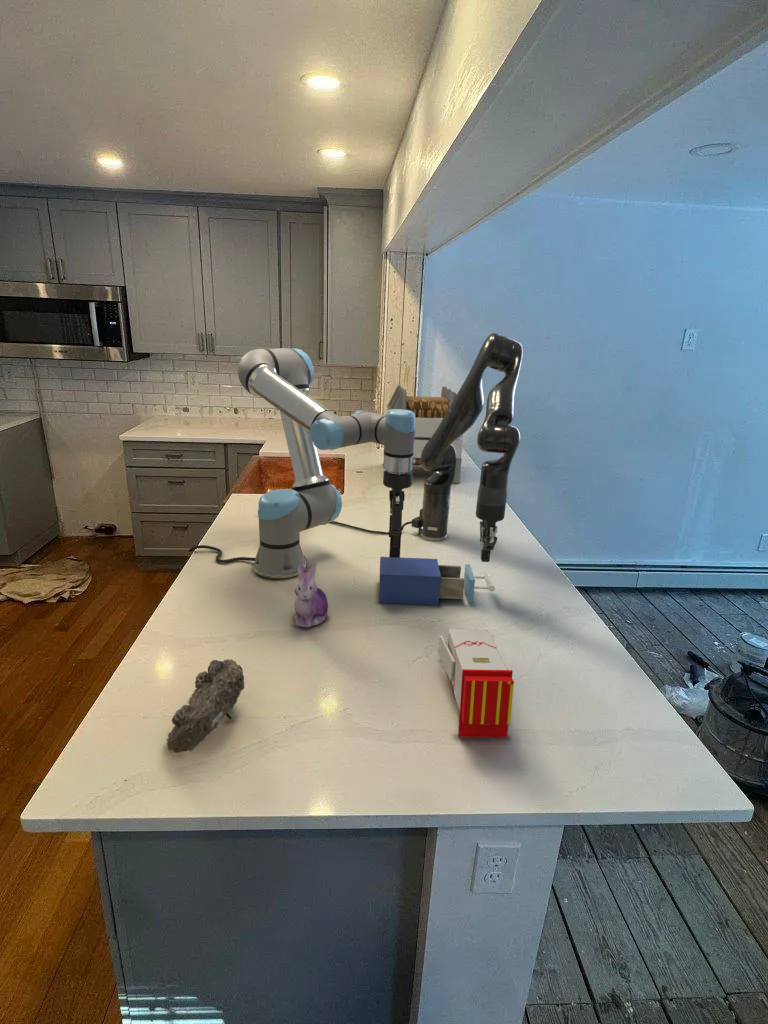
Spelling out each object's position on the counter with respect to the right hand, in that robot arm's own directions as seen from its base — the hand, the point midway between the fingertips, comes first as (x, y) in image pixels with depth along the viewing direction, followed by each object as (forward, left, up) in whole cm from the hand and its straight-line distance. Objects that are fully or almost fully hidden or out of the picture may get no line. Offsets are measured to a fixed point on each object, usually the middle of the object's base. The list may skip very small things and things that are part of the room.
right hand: (484, 560), depth 155 cm
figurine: (-28, -39, -11) cm, 49 cm away
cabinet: (-17, -12, -11) cm, 23 cm away
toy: (+17, -40, -11) cm, 45 cm away
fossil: (-18, -78, -11) cm, 80 cm away
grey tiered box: (-80, +95, -11) cm, 125 cm away
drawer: (-6, -4, -10) cm, 13 cm away
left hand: (-20, -14, +3) cm, 25 cm away
